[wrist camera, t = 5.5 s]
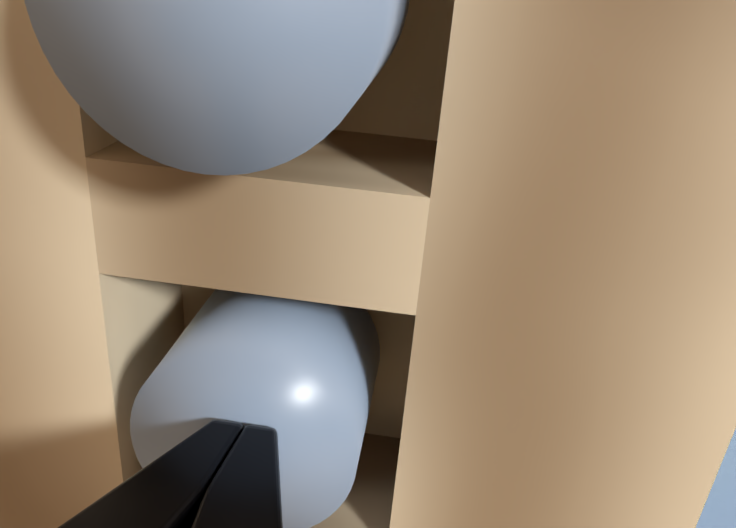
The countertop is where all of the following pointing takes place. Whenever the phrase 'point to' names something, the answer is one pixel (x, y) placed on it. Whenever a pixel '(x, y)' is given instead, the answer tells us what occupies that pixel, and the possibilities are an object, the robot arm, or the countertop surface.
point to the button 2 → (270, 390)
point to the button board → (412, 267)
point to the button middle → (217, 72)
